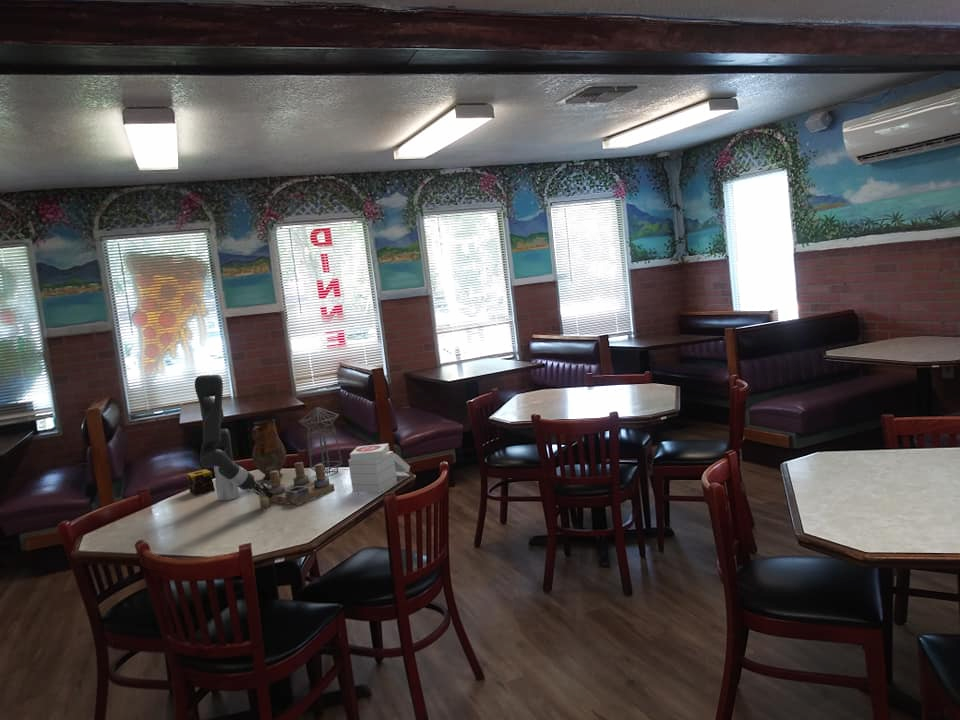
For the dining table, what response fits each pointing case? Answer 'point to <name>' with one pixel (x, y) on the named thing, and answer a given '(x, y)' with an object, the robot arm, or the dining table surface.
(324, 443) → the geometric lantern
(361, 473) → the pizza box stack
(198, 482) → the yellow and brown cube
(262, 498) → the loose leg
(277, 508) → the dining table surface
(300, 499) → the stool
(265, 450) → the pitcher
